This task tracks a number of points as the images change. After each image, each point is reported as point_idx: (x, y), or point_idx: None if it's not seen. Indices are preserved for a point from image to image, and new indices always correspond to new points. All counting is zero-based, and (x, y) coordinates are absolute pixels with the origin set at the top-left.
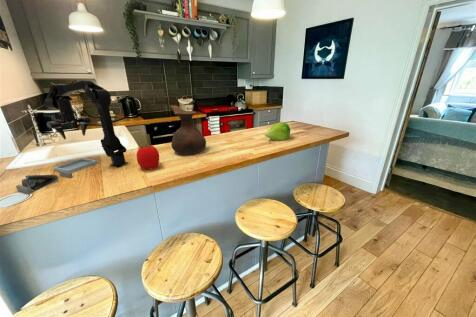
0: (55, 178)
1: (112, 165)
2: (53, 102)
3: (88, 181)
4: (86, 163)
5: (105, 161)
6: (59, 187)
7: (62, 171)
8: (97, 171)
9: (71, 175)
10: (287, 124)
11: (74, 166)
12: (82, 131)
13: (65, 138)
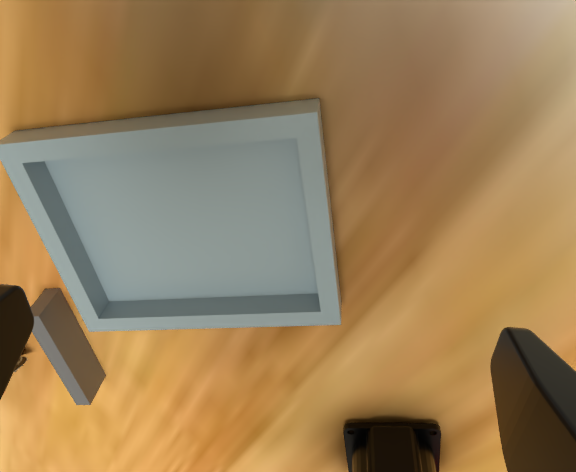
0: None
1: (345, 444)
2: None
3: (149, 468)
4: (281, 231)
5: (407, 318)
6: (27, 421)
7: (47, 343)
8: (242, 417)
9: (94, 388)
10: None
11: (176, 207)
12: (555, 468)
13: (14, 348)
